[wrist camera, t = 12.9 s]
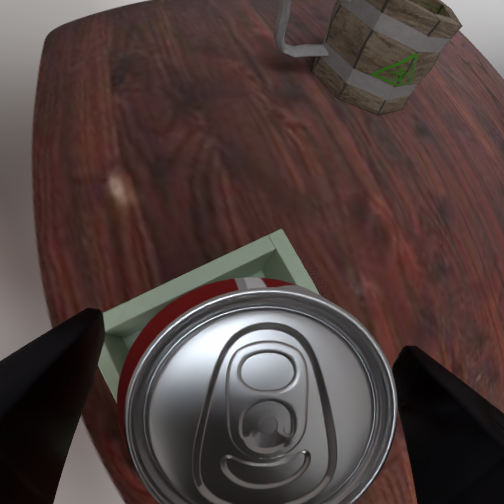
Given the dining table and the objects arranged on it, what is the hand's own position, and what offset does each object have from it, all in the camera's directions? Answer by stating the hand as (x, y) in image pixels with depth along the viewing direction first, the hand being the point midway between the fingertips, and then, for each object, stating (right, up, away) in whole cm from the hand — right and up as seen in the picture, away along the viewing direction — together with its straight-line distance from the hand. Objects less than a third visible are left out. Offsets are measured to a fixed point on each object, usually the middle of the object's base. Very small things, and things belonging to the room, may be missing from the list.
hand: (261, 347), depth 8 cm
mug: (+8, +20, +19) cm, 29 cm away
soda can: (-2, -4, +8) cm, 9 cm away
